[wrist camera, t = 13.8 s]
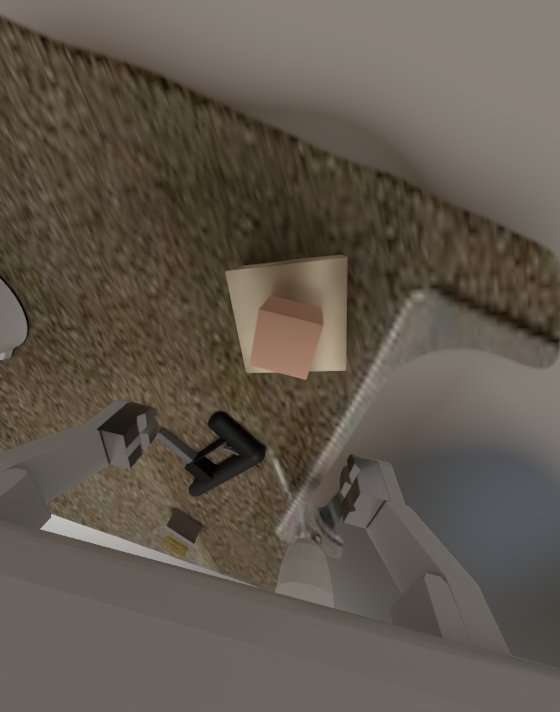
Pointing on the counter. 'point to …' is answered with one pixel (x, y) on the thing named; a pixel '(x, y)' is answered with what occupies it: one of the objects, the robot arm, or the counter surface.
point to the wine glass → (305, 574)
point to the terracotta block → (286, 336)
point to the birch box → (297, 283)
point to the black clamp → (203, 467)
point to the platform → (180, 533)
